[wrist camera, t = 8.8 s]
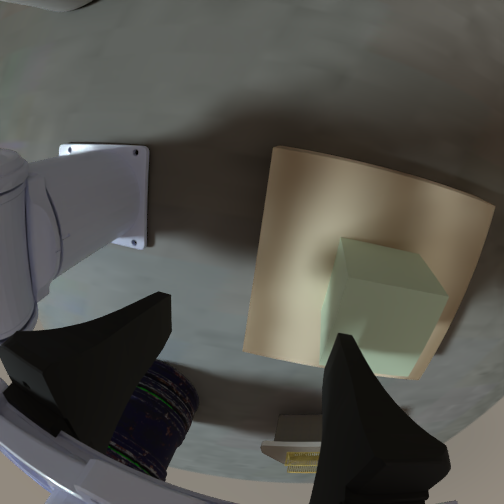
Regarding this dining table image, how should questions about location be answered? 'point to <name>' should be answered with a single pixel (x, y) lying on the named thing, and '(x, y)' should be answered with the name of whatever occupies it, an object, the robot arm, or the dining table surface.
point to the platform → (296, 441)
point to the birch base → (357, 228)
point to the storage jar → (154, 421)
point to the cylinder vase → (53, 4)
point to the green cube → (381, 305)
